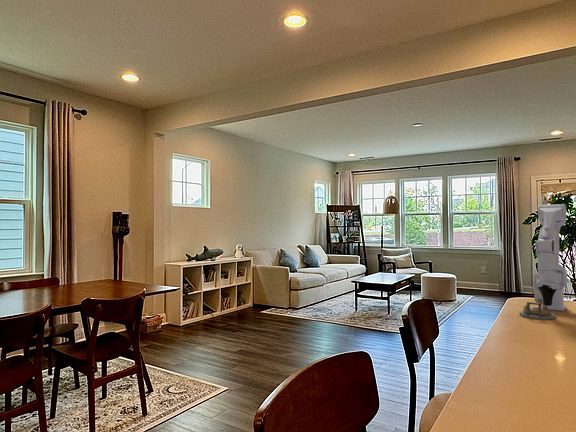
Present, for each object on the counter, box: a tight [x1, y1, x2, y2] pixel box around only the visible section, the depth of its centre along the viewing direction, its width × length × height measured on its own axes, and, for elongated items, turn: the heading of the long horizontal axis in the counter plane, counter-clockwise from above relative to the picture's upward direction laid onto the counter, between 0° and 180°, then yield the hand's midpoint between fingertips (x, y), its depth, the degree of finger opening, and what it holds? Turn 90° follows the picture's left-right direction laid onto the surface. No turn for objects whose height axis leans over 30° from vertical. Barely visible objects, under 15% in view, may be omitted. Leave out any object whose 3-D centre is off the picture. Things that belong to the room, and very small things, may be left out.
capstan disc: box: [522, 299, 552, 315], centre depth 158 cm, size 9×9×5 cm
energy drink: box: [533, 273, 543, 303], centre depth 188 cm, size 5×5×12 cm
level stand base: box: [518, 301, 557, 321], centre depth 158 cm, size 12×12×6 cm
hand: (547, 305), depth 158 cm, fingers closed, pressing on capstan disc
